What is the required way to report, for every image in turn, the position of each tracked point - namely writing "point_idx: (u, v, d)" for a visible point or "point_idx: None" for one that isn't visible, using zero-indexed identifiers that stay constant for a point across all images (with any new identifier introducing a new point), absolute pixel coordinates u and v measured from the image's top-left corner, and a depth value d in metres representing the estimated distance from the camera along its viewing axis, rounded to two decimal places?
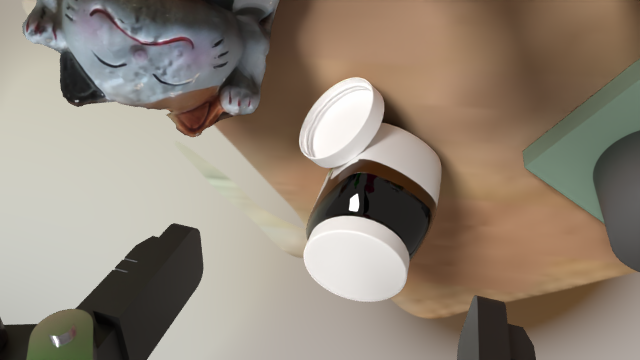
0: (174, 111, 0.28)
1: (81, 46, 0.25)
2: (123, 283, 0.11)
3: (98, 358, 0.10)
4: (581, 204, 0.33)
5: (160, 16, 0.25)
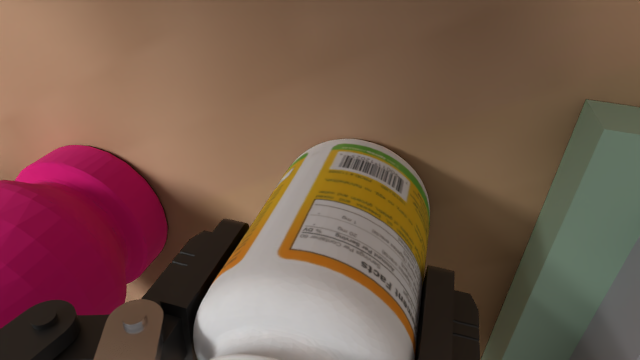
0: None
1: None
2: (185, 275, 0.11)
3: (167, 347, 0.10)
4: None
5: None
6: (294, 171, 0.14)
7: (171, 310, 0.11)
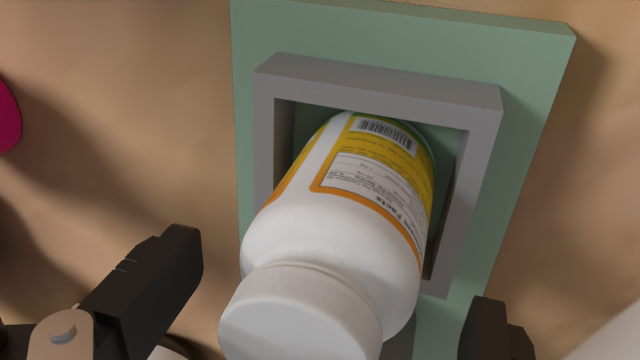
0: None
1: None
2: (123, 283, 0.11)
3: (98, 358, 0.10)
4: None
5: None
6: (319, 134, 0.16)
7: (105, 319, 0.10)
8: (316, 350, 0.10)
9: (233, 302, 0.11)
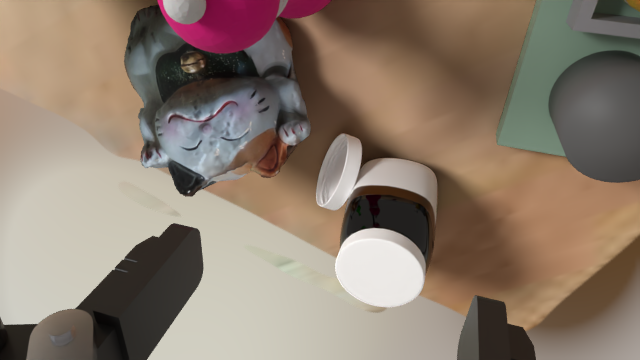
0: (253, 163, 0.35)
1: (173, 147, 0.34)
2: (123, 283, 0.11)
3: (98, 358, 0.10)
4: None
5: (209, 99, 0.34)
6: None
7: (104, 319, 0.10)
8: None
9: None
